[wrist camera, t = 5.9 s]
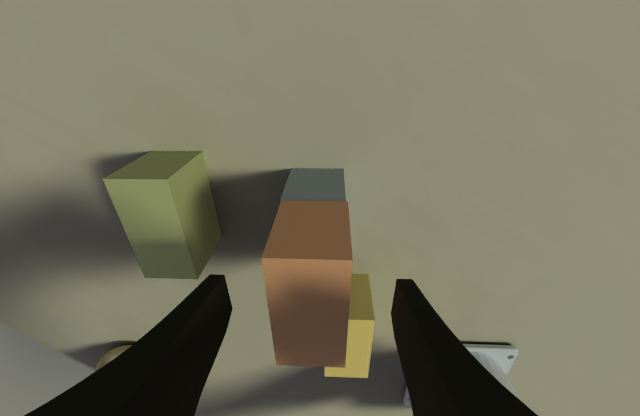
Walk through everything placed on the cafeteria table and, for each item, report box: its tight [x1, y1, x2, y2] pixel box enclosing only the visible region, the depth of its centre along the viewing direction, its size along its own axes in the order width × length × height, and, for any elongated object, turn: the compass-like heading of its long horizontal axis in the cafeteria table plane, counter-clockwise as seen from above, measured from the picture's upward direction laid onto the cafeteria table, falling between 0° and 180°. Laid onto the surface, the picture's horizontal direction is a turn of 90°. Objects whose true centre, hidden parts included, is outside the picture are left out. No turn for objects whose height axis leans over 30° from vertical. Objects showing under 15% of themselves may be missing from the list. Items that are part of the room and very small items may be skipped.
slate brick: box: [280, 168, 346, 203], centre depth 16 cm, size 6×3×4 cm, turn 1°
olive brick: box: [103, 151, 222, 279], centre depth 16 cm, size 6×3×4 cm, turn 1°
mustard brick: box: [325, 274, 375, 378], centre depth 20 cm, size 6×3×4 cm, turn 1°
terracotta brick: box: [261, 200, 353, 368], centre depth 12 cm, size 6×3×4 cm, turn 0°
